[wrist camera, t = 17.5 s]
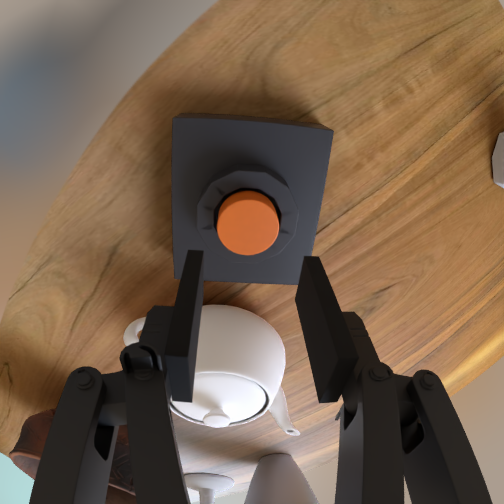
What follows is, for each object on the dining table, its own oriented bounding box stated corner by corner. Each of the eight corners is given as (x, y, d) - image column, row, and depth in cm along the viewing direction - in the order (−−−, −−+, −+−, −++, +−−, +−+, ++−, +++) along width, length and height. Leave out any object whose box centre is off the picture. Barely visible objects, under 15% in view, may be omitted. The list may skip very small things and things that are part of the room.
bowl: (103, 363, 36) (73, 464, 23) (196, 443, 48) (193, 519, 35) (13, 383, 40) (-15, 450, 27) (100, 450, 52) (88, 509, 39)
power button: (219, 188, 21) (218, 197, 19) (279, 192, 21) (283, 201, 19) (217, 241, 23) (215, 254, 21) (272, 244, 23) (275, 257, 21)
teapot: (111, 322, 32) (82, 400, 23) (181, 242, 28) (158, 327, 18) (252, 401, 41) (257, 469, 31) (331, 351, 36) (353, 426, 27)
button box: (180, 113, 22) (167, 120, 18) (322, 124, 23) (342, 134, 19) (179, 259, 29) (170, 292, 24) (298, 265, 29) (309, 298, 25)
